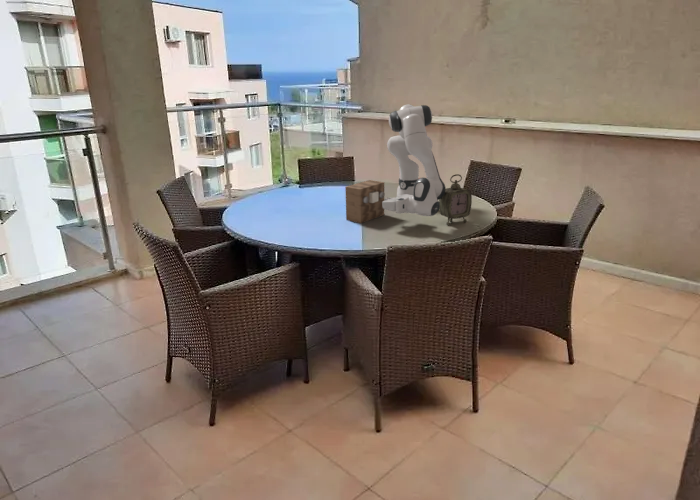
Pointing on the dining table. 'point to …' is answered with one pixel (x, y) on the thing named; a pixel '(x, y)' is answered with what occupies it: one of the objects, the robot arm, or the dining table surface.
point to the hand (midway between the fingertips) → (386, 199)
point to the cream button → (373, 197)
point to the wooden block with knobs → (364, 201)
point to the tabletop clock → (455, 202)
